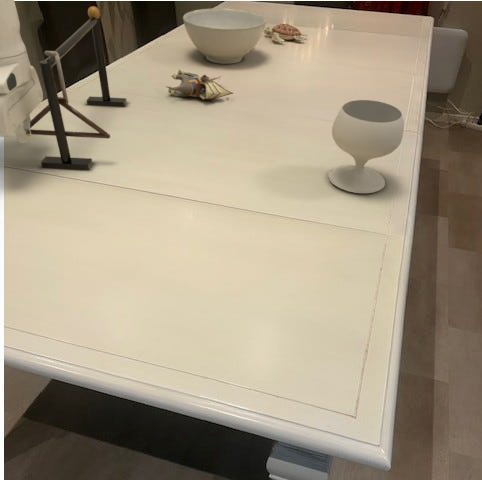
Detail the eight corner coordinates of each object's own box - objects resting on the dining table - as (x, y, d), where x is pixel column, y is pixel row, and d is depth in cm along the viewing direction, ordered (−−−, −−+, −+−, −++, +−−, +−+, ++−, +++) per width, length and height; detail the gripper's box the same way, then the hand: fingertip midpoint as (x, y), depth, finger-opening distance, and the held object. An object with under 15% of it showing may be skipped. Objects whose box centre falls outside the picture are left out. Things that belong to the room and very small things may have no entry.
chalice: (319, 190, 100) (331, 118, 90) (328, 161, 110) (340, 94, 100) (387, 202, 98) (407, 129, 88) (390, 171, 108) (409, 103, 98)
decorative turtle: (268, 30, 193) (269, 16, 189) (309, 35, 190) (311, 21, 187) (258, 42, 180) (258, 27, 176) (301, 47, 177) (303, 32, 174)
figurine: (196, 62, 143) (246, 74, 137) (196, 83, 146) (244, 96, 141) (155, 75, 129) (208, 89, 123) (155, 99, 133) (207, 113, 127)
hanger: (110, 139, 102) (97, 54, 90) (20, 134, 102) (-4, 48, 90) (111, 137, 102) (98, 52, 91) (21, 132, 102) (-2, 47, 91)
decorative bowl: (256, 47, 175) (258, 8, 167) (269, 71, 156) (272, 29, 148) (182, 46, 172) (181, 7, 164) (186, 71, 153) (185, 28, 144)
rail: (88, 170, 103) (69, 65, 89) (42, 167, 103) (14, 62, 89) (125, 104, 130) (114, 17, 116) (88, 102, 130) (73, 14, 116)
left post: (124, 106, 129) (112, 8, 114) (87, 104, 129) (70, 6, 114) (126, 102, 131) (115, 6, 116) (90, 100, 131) (73, 3, 116)
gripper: (10, 51, 98) (28, 119, 107) (-36, 85, 83) (-10, 161, 92) (41, 52, 98) (56, 120, 107) (0, 87, 83) (22, 162, 92)
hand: (25, 139), depth 100 cm, fingers closed
